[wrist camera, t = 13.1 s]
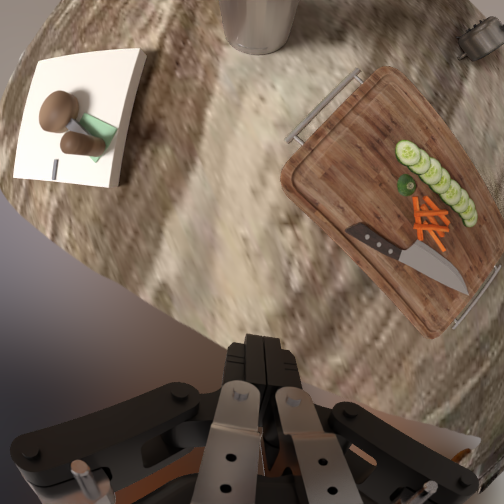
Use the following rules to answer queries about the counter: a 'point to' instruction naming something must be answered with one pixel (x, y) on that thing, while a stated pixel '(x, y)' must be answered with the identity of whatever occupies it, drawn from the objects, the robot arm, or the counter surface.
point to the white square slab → (81, 116)
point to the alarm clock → (482, 39)
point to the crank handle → (68, 125)
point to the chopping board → (399, 198)
